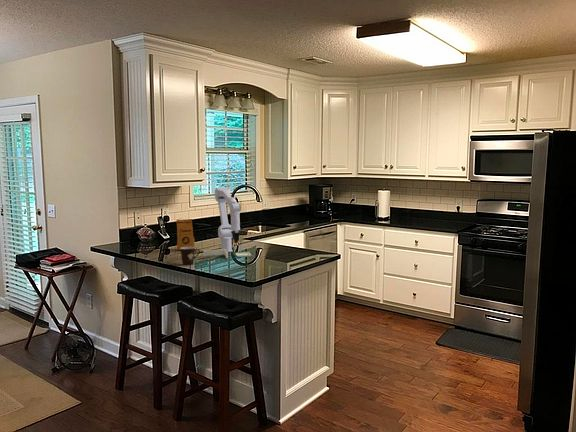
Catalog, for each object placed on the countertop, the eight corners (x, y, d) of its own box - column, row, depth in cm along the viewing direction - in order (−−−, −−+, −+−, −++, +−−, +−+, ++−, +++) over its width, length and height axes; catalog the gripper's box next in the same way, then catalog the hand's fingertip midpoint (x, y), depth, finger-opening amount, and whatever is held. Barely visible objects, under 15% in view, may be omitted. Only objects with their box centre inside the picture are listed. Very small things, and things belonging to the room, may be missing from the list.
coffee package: (194, 250, 328) (193, 219, 326) (176, 251, 326) (175, 220, 324) (195, 248, 338) (194, 217, 336) (177, 249, 336) (176, 218, 333)
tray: (235, 254, 313) (235, 253, 313) (249, 253, 316) (249, 252, 315) (237, 256, 304) (237, 255, 304) (251, 256, 307) (251, 254, 307)
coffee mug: (180, 266, 279) (180, 249, 278) (180, 263, 287) (180, 247, 286) (200, 264, 281) (200, 248, 280) (200, 262, 290) (199, 246, 289)
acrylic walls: (203, 255, 310) (203, 250, 309) (225, 254, 313) (225, 249, 313) (205, 259, 297) (204, 254, 297) (227, 258, 301) (227, 252, 300)
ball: (232, 244, 309) (232, 238, 309) (238, 243, 310) (238, 237, 310) (233, 245, 306) (232, 238, 305) (239, 244, 306) (238, 238, 306)
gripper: (227, 220, 312) (228, 240, 314) (230, 223, 298) (230, 244, 300) (238, 220, 314) (239, 240, 316) (241, 222, 300) (241, 243, 301)
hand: (235, 242), depth 308 cm, fingers closed on ball, 4 cm apart
